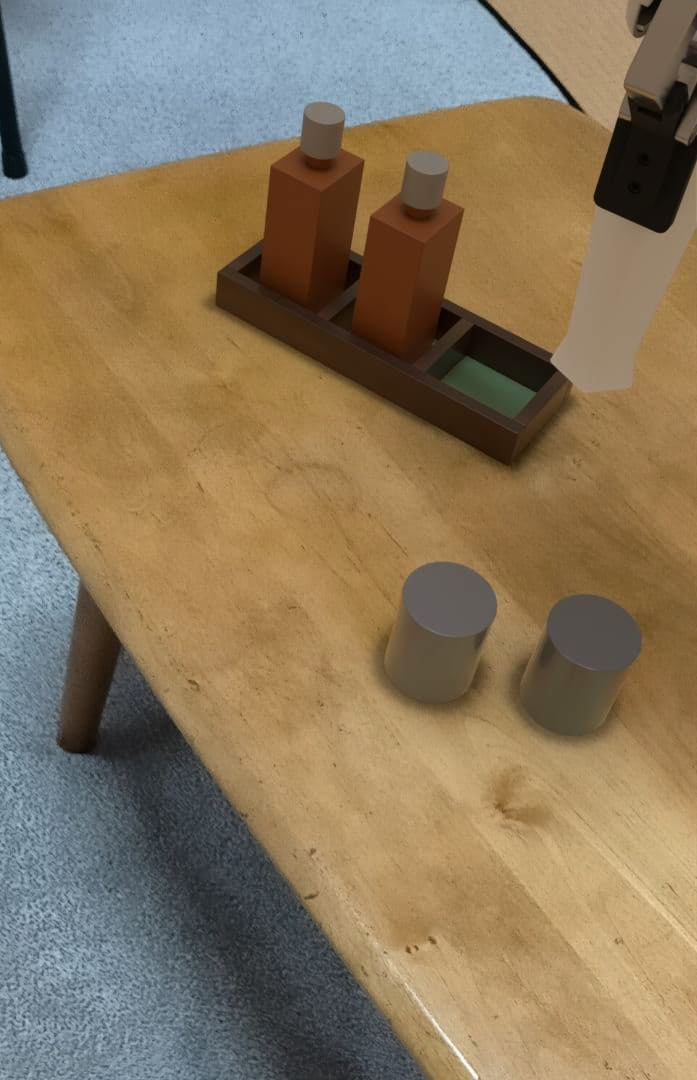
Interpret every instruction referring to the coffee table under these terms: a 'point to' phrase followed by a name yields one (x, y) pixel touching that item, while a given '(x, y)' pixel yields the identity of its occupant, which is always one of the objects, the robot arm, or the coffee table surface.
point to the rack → (451, 404)
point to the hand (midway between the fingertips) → (658, 183)
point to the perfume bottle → (622, 289)
